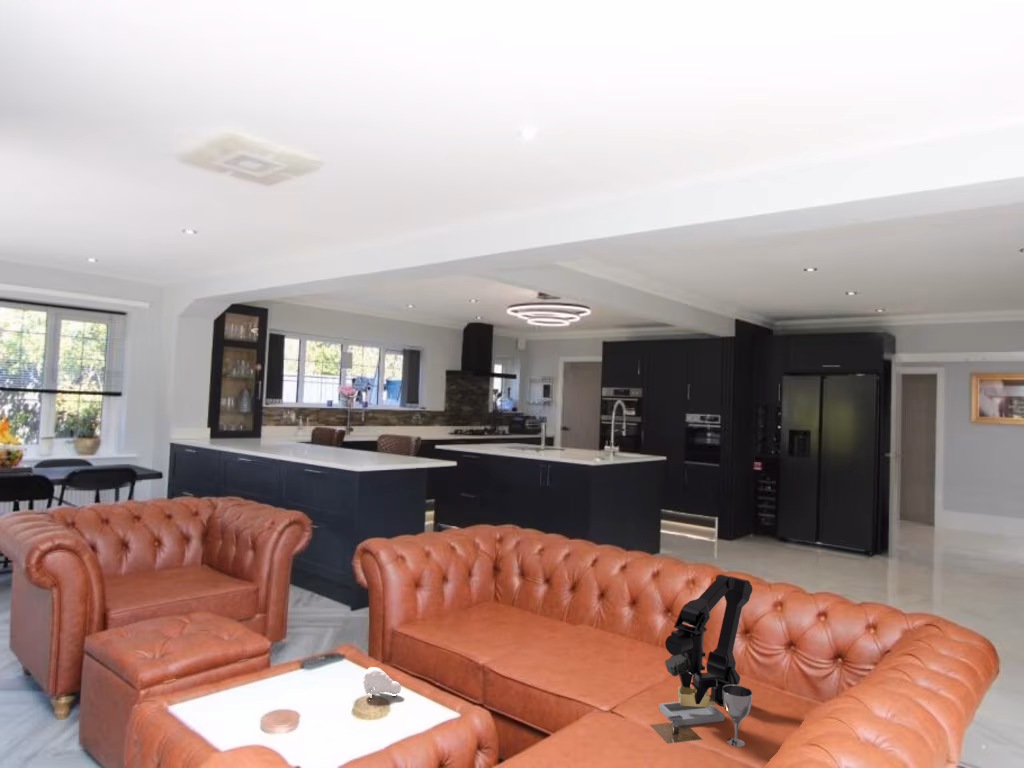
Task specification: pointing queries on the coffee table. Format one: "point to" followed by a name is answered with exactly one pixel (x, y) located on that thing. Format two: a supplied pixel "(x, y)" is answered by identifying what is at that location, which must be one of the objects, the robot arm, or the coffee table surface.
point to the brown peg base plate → (675, 731)
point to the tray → (691, 713)
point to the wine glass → (736, 707)
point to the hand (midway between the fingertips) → (691, 698)
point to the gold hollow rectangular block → (692, 697)
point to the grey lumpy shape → (379, 682)
